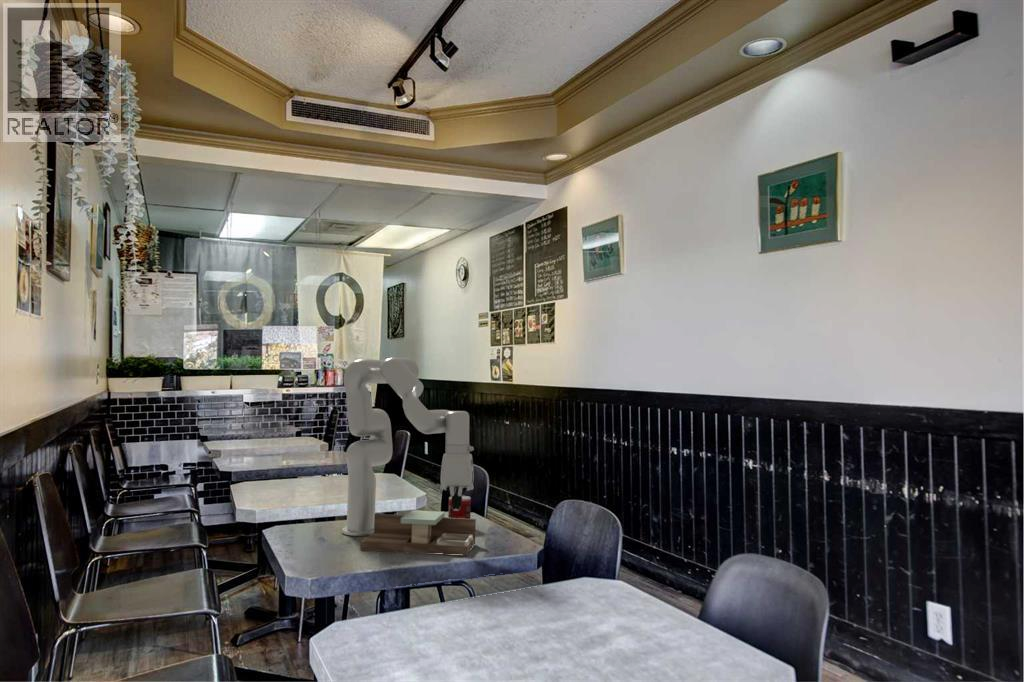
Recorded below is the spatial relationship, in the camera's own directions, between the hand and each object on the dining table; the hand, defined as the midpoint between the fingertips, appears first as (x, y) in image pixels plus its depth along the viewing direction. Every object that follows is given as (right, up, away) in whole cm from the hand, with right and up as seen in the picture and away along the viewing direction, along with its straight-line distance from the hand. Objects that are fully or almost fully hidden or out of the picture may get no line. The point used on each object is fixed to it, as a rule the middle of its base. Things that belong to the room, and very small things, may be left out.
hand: (456, 508), depth 208 cm
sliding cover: (-11, -4, +3) cm, 12 cm away
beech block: (-11, -13, +1) cm, 17 cm away
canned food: (-2, -15, +30) cm, 34 cm away
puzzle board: (-12, -13, +1) cm, 18 cm away
